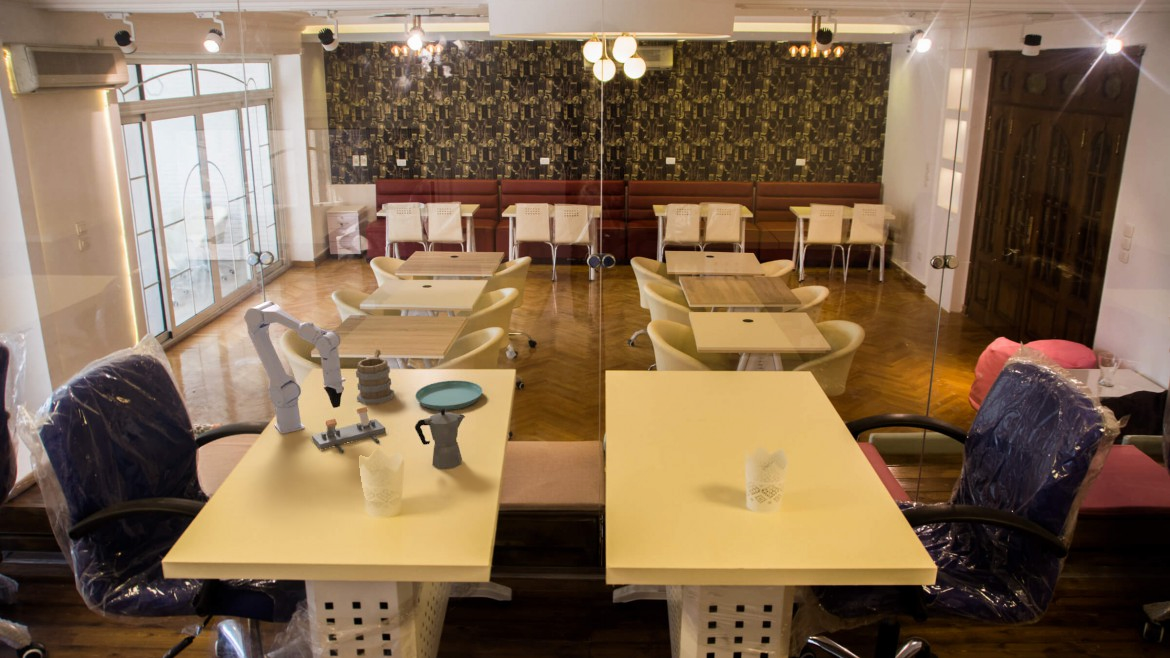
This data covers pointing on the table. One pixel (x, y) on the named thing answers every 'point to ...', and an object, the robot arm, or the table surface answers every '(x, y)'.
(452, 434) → the coffeepot
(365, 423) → the lever
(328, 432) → the lever
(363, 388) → the tankard
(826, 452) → the table surface
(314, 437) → the breaker block
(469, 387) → the saucer
